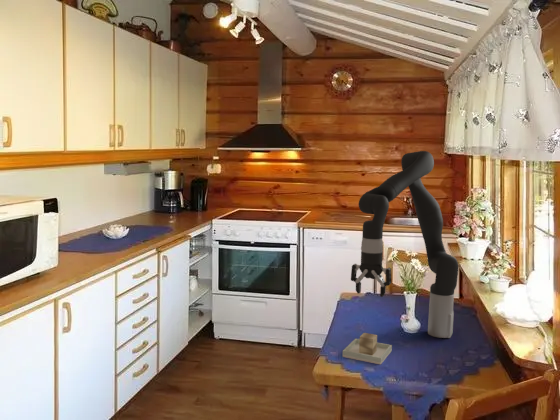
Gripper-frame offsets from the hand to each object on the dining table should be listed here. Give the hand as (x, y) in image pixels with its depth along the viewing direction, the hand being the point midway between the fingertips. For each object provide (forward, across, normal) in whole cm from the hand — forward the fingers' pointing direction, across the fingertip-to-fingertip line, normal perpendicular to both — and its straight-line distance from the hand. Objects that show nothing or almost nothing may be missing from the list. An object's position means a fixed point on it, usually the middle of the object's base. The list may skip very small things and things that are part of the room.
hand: (370, 294), depth 198 cm
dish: (+22, 0, 0) cm, 22 cm away
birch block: (+21, 0, 0) cm, 21 cm away
